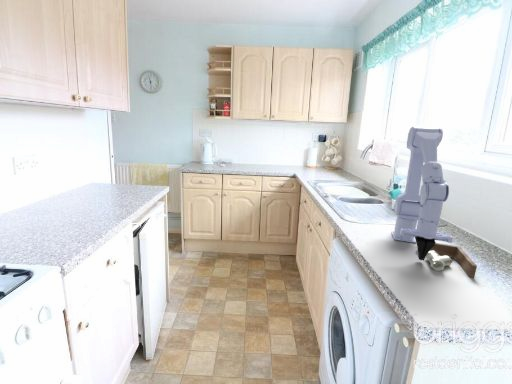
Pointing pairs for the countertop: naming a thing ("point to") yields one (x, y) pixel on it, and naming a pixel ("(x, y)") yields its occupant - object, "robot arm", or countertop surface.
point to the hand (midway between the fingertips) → (420, 258)
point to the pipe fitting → (438, 260)
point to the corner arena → (456, 257)
